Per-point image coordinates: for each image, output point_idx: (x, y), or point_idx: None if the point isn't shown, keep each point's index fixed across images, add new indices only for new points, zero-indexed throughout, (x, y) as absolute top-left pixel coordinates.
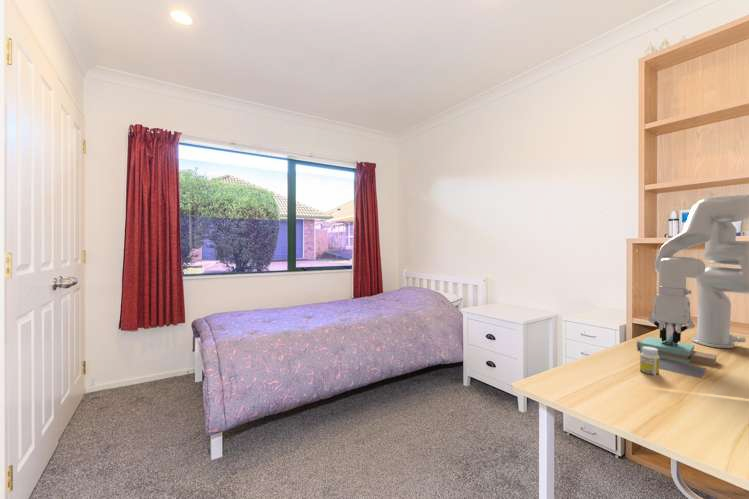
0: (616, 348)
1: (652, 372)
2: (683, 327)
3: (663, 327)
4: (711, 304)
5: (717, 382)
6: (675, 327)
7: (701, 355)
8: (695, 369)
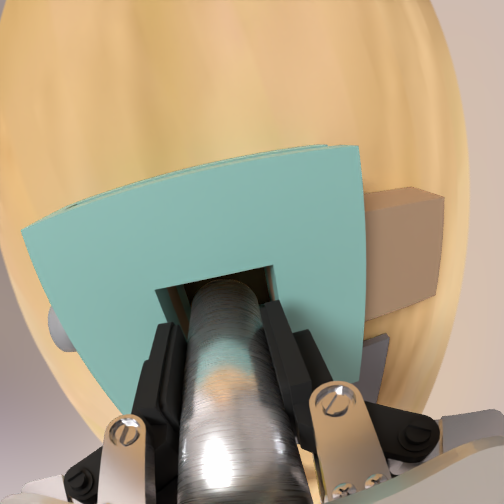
0: (50, 358)
1: None
2: (390, 470)
3: (165, 463)
4: None
5: (399, 396)
6: (303, 478)
7: (394, 287)
8: (360, 381)
